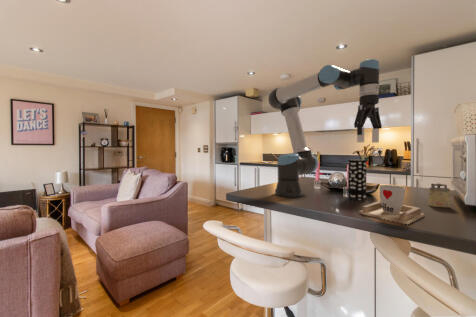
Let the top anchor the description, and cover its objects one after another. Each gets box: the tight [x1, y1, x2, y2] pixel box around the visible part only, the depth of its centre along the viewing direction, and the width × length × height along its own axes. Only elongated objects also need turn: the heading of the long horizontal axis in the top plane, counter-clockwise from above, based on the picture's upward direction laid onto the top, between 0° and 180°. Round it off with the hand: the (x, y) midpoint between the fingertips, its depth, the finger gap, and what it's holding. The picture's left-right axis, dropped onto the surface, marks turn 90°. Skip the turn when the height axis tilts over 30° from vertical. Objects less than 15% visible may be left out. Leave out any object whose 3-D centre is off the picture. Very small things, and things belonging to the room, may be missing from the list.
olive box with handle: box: [428, 182, 451, 208], centre depth 93 cm, size 7×4×10 cm, turn 66°
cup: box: [379, 184, 406, 214], centre depth 83 cm, size 8×8×10 cm
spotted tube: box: [347, 159, 368, 201], centre depth 110 cm, size 8×8×20 cm
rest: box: [358, 200, 425, 226], centre depth 83 cm, size 16×16×3 cm
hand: (368, 142), depth 97 cm, fingers open, 13 cm apart
